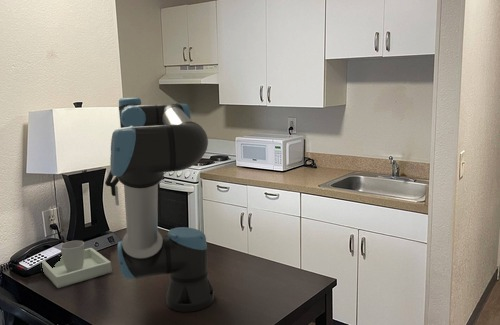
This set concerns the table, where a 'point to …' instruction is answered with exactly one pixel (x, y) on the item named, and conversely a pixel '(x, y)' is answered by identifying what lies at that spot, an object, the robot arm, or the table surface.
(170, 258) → the robot arm
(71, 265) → the cup
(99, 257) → the bin
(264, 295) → the table surface
